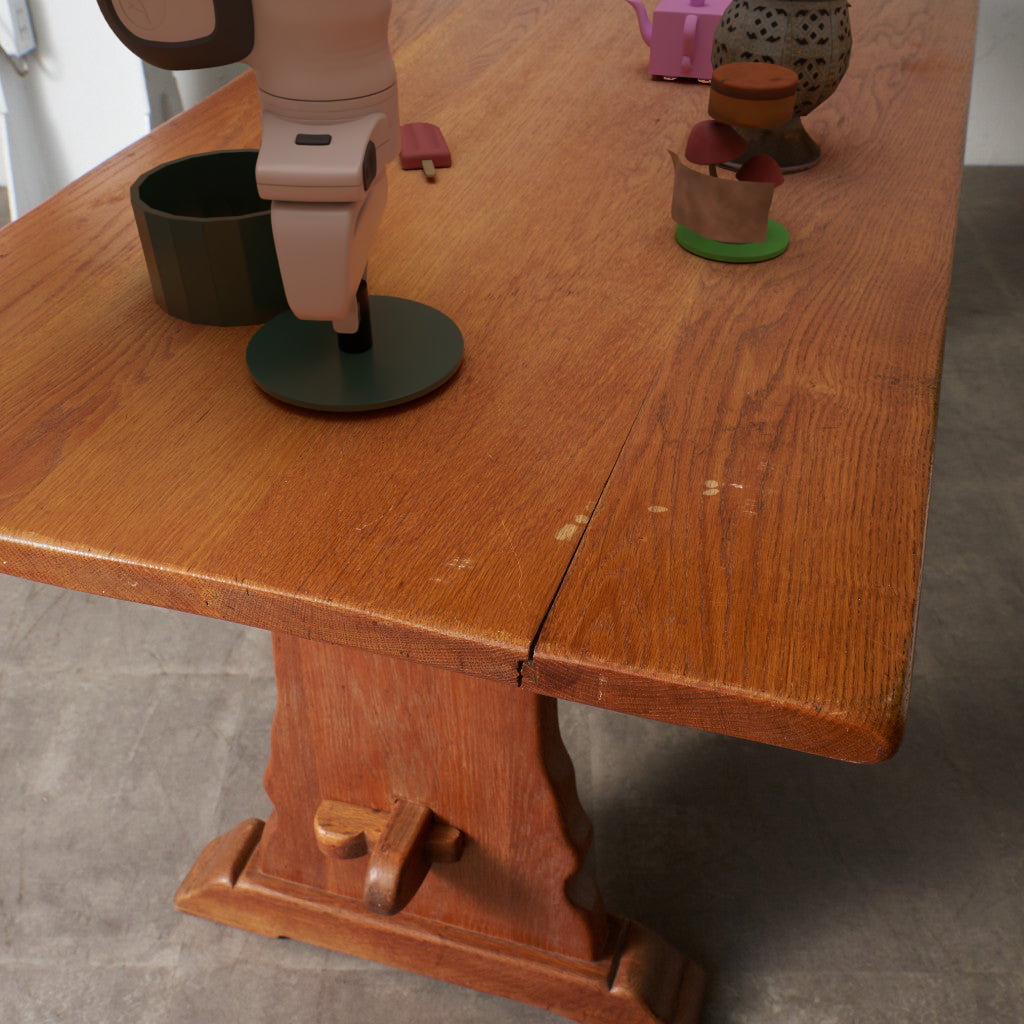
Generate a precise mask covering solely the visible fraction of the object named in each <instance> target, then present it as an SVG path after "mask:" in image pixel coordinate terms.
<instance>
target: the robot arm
mask: <svg viewBox="0 0 1024 1024" xmlns="http://www.w3.org/2000/svg"><path fill="white" fill-rule="evenodd" d="M95 1H96V3H97V5H98V8H99V11H100V13H101V15H102V17H103V18H104V21H105V22H106V24H107V25H108V28H110V30H111V31H112V32H113V34H114V35H115V37H116V38H117V39H118V40H119V41H120V42H121V43H122V44H123V46H124V47H126V49H127V50H128V51H130V52H131V53H132V54H133V55H135V56H136V57H137V58H139V59H140V60H142V61H143V62H145V63H147V64H149V65H150V66H153V67H155V68H158V69H161V70H164V71H172V72H173V71H174V72H179V71H181V72H182V71H184V72H185V71H196V70H204V69H212V68H213V69H214V68H218V67H224V66H228V65H233V64H235V63H238V64H244V65H247V66H249V67H250V68H251V69H252V71H253V73H254V75H255V79H256V85H257V92H258V100H259V107H260V114H259V115H260V116H259V121H260V128H261V139H260V143H259V148H258V149H259V154H258V158H257V163H256V171H255V173H256V182H257V188H258V193H259V196H260V197H261V198H262V199H267V200H272V204H271V222H272V231H273V237H274V242H275V247H276V252H277V257H278V262H279V267H280V272H281V276H282V281H283V285H284V290H285V294H286V298H287V301H288V304H289V306H290V308H291V310H292V311H293V313H294V314H295V316H296V317H297V318H299V319H302V320H317V321H332V322H333V328H334V330H335V331H336V332H338V333H355V332H357V330H358V327H359V324H360V320H361V316H360V306H359V302H357V300H356V293H357V290H358V287H359V284H360V281H361V279H363V280H365V281H366V282H367V285H368V296H369V295H370V289H369V288H370V287H369V268H370V267H369V265H370V255H371V252H372V249H373V246H374V243H375V241H376V238H377V234H378V231H379V228H380V225H381V223H382V220H383V217H384V214H385V210H386V208H387V205H388V200H389V199H388V198H389V183H388V174H387V165H388V164H390V163H392V162H393V161H394V160H395V159H397V158H398V157H399V156H400V151H401V136H400V126H401V124H400V123H401V121H400V106H399V104H400V103H399V89H398V88H399V87H398V74H397V69H396V63H395V61H394V59H393V56H392V53H391V49H390V43H389V24H390V18H391V14H392V10H393V9H392V8H393V0H95Z"/></svg>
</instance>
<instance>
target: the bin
mask: <svg viewBox="0 0 1024 1024" xmlns="http://www.w3.org/2000/svg"><path fill="white" fill-rule="evenodd" d="M259 149H260V148H235V149H218V150H212V151H205V152H200V153H193V154H189V155H185V156H181V157H179V158H175V159H172V160H170V161H166V162H163V163H160V164H158V165H156V166H154V167H152V168H151V169H149V170H147V171H146V172H144V173H141V174H140V175H139V176H138V177H137V178H136V180H135V181H134V182H133V183H132V184H131V186H129V197H130V204H131V208H132V212H133V216H134V220H135V224H136V228H137V231H138V236H139V240H140V244H141V249H142V253H143V256H144V260H145V265H146V268H147V272H148V276H149V280H150V284H151V288H152V293H153V296H154V300H155V303H156V304H157V306H159V307H160V308H161V309H162V310H163V311H164V312H165V313H166V314H167V315H168V316H170V317H173V318H176V319H178V320H181V321H184V322H187V323H189V324H192V325H193V324H194V325H201V326H210V327H219V328H233V327H247V326H257V325H264V324H265V323H267V322H268V321H270V320H271V319H273V318H274V317H276V316H278V315H280V314H281V313H283V312H285V311H288V310H290V309H291V308H290V306H289V304H288V301H287V298H286V294H285V290H284V285H283V281H282V276H281V272H280V267H279V262H278V257H277V252H276V247H275V242H274V237H273V231H272V222H271V204H272V200H267V199H262V198H261V197H260V196H259V193H258V188H257V182H256V173H255V171H256V163H257V158H258V154H259Z"/></svg>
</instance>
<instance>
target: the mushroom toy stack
mask: <svg viewBox="0 0 1024 1024" xmlns="http://www.w3.org/2000/svg"><path fill="white" fill-rule="evenodd" d="M798 81H799V79H798V75H797V74H796V73H795V72H794V71H792V70H790V69H788V68H785V67H782V66H779V65H774V64H768V63H759V62H738V63H730V64H726V65H722V66H720V67H718V68H716V69H715V70H714V71H713V73H712V79H711V83H710V86H709V87H710V89H709V95H708V96H709V97H708V104H707V105H708V106H707V115H708V116H709V117H710V118H712V119H706V120H702V121H699V122H697V123H695V124H694V125H693V126H692V128H691V130H690V132H689V135H688V139H687V141H686V146H685V151H684V157H685V159H686V160H687V161H688V162H689V163H691V164H694V165H698V166H708V173H709V174H705V173H702V172H699V171H697V170H694V169H692V168H690V167H688V166H687V165H685V164H683V162H682V161H681V159H680V158H679V157H680V156H678V154H676V153H675V152H674V151H672V150H670V149H668V148H666V151H667V153H668V154H669V155H670V157H671V161H672V164H673V169H674V170H673V171H674V179H673V189H672V190H673V191H672V199H671V208H670V209H671V210H670V212H671V214H670V216H671V218H672V220H673V221H674V222H675V223H677V225H676V228H675V239H676V241H677V242H678V244H679V245H680V246H681V247H682V248H684V249H685V250H686V251H688V252H690V253H692V254H694V255H696V256H699V257H702V258H706V259H710V260H714V261H718V262H724V263H725V262H726V263H756V262H763V261H767V260H771V259H773V258H775V257H778V256H781V254H783V253H784V252H785V251H786V250H787V249H788V247H789V244H790V243H789V242H790V233H789V231H788V229H786V228H785V227H784V226H783V225H782V224H781V223H780V222H777V221H776V220H775V219H772V218H770V217H769V214H770V209H771V206H772V202H773V198H774V192H775V189H776V188H778V187H779V186H781V185H782V184H784V182H785V177H784V174H782V172H781V170H780V167H779V166H778V164H777V163H776V161H775V160H774V159H773V158H772V157H771V156H769V155H766V154H757V155H754V156H752V157H750V158H749V159H748V160H747V161H746V162H745V163H744V164H743V165H742V166H741V167H740V169H739V170H738V171H737V172H736V171H735V174H734V175H735V179H736V180H735V179H727V178H721V177H719V176H718V173H717V172H718V171H717V165H716V164H721V163H726V162H729V161H732V160H734V159H737V158H738V157H740V156H741V155H742V154H743V153H744V152H745V151H746V149H747V147H748V142H747V141H746V140H745V139H744V138H743V137H742V136H741V135H739V134H738V133H737V132H736V131H735V130H734V129H733V126H738V127H744V128H766V127H774V126H779V125H783V124H785V123H787V122H789V121H790V120H791V119H792V116H793V110H794V104H795V98H796V92H797V86H798Z"/></svg>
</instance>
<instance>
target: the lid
mask: <svg viewBox="0 0 1024 1024" xmlns="http://www.w3.org/2000/svg"><path fill="white" fill-rule="evenodd" d="M368 286H369V284H368V285H367V282H366V281H365V280H363V279H361V281H360V284H359V287H358V290H357V293H356V300H357V302H359V306H360V316H361V320H360V324H359V327H358V330H357V332H355V333H338V332H336V331H335V330H334V328H333V322H332V321H317V320H302V319H299V318H297V317H296V316H295V314H294V313H293V311H292V310H291V309H290V310H288V311H285V312H283V313H281V314H280V315H278V316H276V317H274V318H273V319H271V320H270V321H268V322H267V323H263V324H262V325H261V326H260V327H259V328H258V330H256V332H255V333H254V334H253V335H252V336H251V338H250V340H249V342H248V344H247V347H246V349H245V364H246V368H247V372H248V374H249V376H250V378H251V380H252V381H253V382H254V384H255V385H256V386H257V387H258V388H259V389H261V390H262V391H263V392H264V393H266V394H268V395H269V396H271V397H272V398H274V399H276V400H278V401H281V402H284V403H286V404H290V405H293V406H296V407H300V408H304V409H307V410H308V409H309V410H315V411H322V412H335V413H340V412H341V413H342V412H343V413H344V412H345V413H350V412H351V413H352V412H365V411H372V410H380V409H385V408H390V407H394V406H399V405H401V404H404V403H408V402H410V401H413V400H417V399H418V398H421V397H423V396H425V395H427V394H429V393H431V392H433V391H435V390H436V389H438V388H439V387H441V386H442V385H444V384H445V383H446V382H447V381H449V379H451V378H453V375H454V374H455V373H456V372H457V371H458V370H459V367H460V366H461V364H462V362H463V358H464V355H465V341H464V336H463V334H462V331H461V330H460V328H459V326H458V325H457V323H455V321H454V320H453V319H452V318H451V317H450V316H448V315H447V314H445V313H443V312H442V311H440V310H439V309H437V308H435V307H433V306H431V305H428V304H425V303H423V302H419V301H416V300H412V299H408V298H404V297H399V296H392V295H391V296H390V295H380V294H369V296H368Z"/></svg>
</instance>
